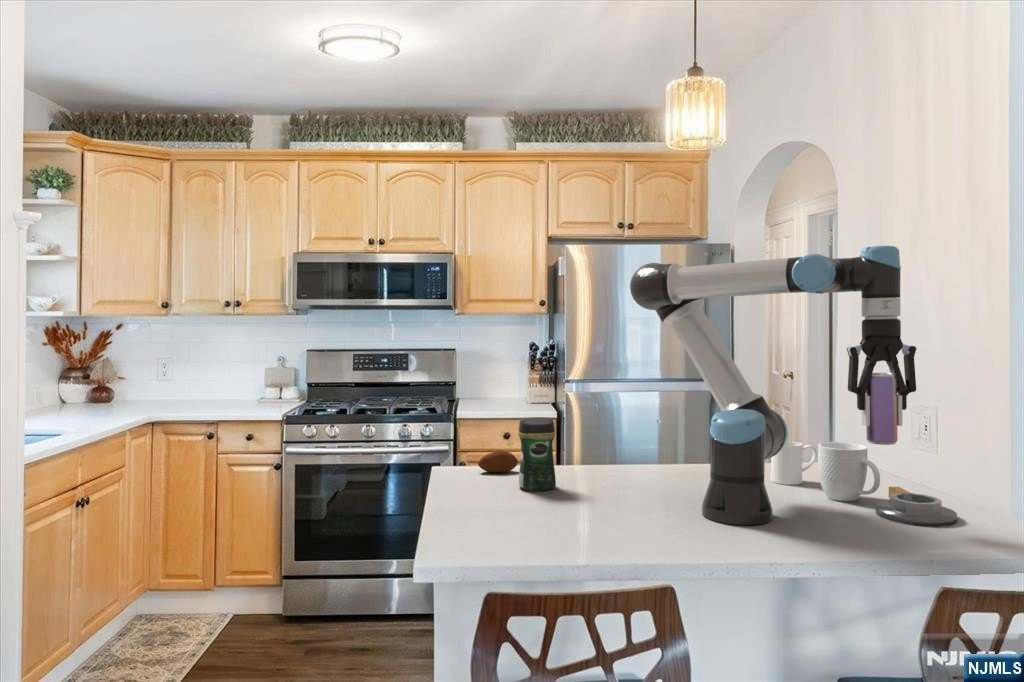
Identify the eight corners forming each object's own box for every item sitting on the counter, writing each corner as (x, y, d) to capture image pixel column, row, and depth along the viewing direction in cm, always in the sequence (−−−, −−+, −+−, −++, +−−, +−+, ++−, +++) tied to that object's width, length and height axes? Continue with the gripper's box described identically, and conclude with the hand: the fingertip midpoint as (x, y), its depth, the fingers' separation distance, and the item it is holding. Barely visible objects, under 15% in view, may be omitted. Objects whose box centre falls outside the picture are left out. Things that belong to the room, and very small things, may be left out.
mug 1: (779, 485, 192) (779, 446, 192) (765, 479, 200) (766, 441, 200) (823, 484, 194) (823, 445, 193) (808, 477, 202) (808, 440, 201)
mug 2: (891, 503, 175) (892, 449, 174) (865, 510, 169) (866, 454, 168) (834, 490, 187) (835, 440, 187) (808, 496, 181) (808, 444, 180)
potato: (476, 471, 211) (476, 449, 211) (515, 469, 213) (515, 447, 213) (479, 475, 205) (479, 452, 205) (519, 473, 208) (519, 451, 207)
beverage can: (883, 446, 154) (882, 375, 154) (860, 441, 160) (859, 373, 159) (904, 443, 156) (903, 373, 156) (880, 439, 162) (880, 372, 161)
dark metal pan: (894, 525, 156) (894, 507, 156) (859, 502, 175) (859, 486, 175) (972, 527, 155) (972, 508, 155) (928, 503, 174) (928, 487, 174)
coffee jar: (552, 483, 195) (552, 414, 194) (558, 491, 187) (558, 419, 186) (516, 485, 194) (516, 415, 193) (520, 492, 186) (520, 419, 185)
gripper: (840, 319, 155) (841, 427, 155) (935, 317, 152) (936, 427, 153) (829, 319, 162) (830, 422, 163) (919, 317, 160) (920, 422, 160)
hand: (881, 424), depth 158 cm, fingers closed on beverage can, 6 cm apart
